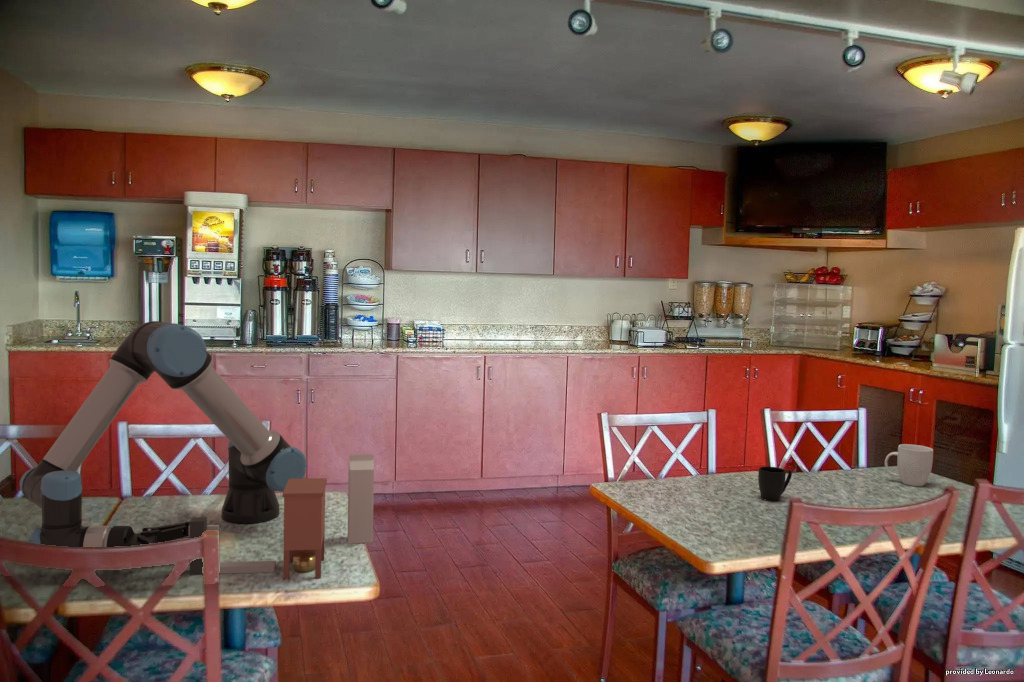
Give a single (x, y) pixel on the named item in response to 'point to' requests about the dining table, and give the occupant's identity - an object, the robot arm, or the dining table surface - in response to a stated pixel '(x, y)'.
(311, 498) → the cabinet
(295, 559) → the token
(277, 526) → the dining table surface
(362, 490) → the milk
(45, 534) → the robot arm
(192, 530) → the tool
